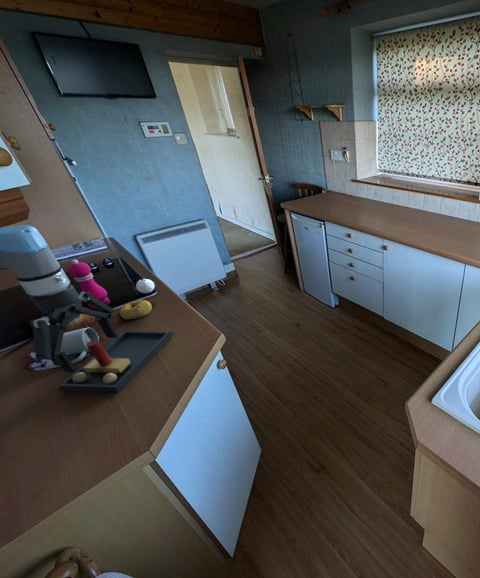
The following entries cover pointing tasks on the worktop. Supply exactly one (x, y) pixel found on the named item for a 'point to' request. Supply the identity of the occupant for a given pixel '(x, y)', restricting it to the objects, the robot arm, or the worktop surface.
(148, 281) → the white ovoid
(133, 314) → the bagel
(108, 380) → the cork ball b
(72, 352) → the ceramic mug
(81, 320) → the bread roll
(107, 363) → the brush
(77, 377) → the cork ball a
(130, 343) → the tray
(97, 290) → the pepper mill
